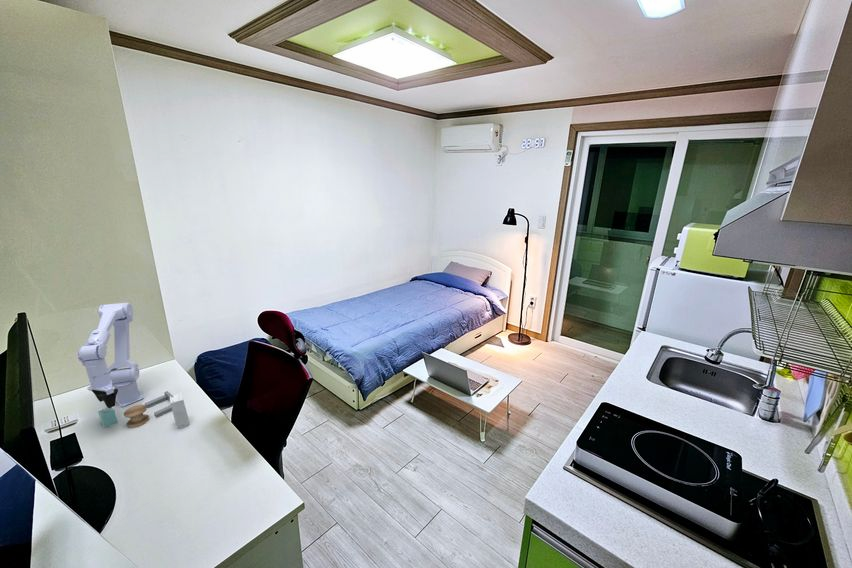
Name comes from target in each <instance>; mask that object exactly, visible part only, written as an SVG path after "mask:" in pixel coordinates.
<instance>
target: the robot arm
mask: <svg viewBox="0 0 852 568" xmlns="http://www.w3.org/2000/svg"><path fill="white" fill-rule="evenodd" d="M98 315H99V322H98V325H97V328H96V329H94V330H92V331H91V333H90V335H89V337H88V339H87V341H86V342H85V345H82V346H81V347H79V348H78V351H77V359H78V360H79V362H80V363H81V364H82V366H83V367H84V368H85V370H86V374H87V376H88V381H89V383H90V386H89V387H87V390H88V391H89V392H90V391H91V392H92V393H93V395H94V396H95V397H96V398H97V400H98V401H99V402H104V404H105V406H106V408H111V407H112V408H114V407H115V406H116V403H117V404H118V405H119V406H120V408H125V407H126V406H128V405H132V404H134V403H135V402H136V403H137V402H139V401H141V400H144V396H143V395H142V394H141V393H140V390H139V386H138V383H137V381H138V380H139V379H140V369H139V365H138V363H137V362H135V361H133V360H131V359H130V353H131V351H130V323H131V322H132V321H134V309H133V306H132V304H131V303H130V302H128V301H127V302H121V303H109V304H108V303H107V304H101V305H100V306H99V307H98ZM112 327H113V331H114V332H113V336H114V362H113V363H112V364H110V365H109V366H108V365H107V361H106V356H107V348H108V346H107V344H108V342H109V340H110V337H111V333H110V330H111V329H112Z"/></svg>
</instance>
